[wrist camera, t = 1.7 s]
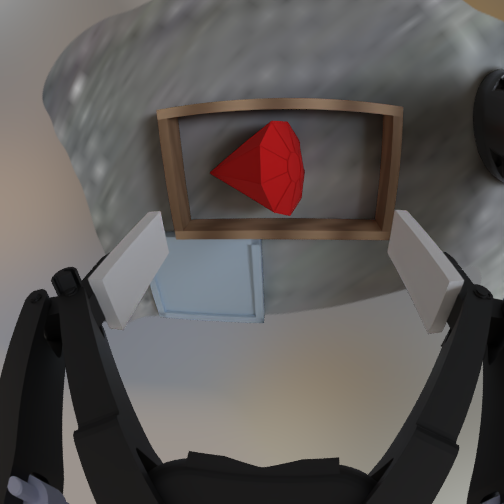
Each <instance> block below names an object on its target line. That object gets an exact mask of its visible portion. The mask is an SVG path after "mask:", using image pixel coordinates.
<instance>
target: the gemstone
mask: <svg viewBox="0 0 504 504" xmlns="http://www.w3.org/2000/svg"><path fill="white" fill-rule="evenodd" d="M281 122H283V121H271V122H270V123H268V124H267V125H266V126H264V127H263V128H262V129H261V130H259V131H258V132H257V133H256V134H254V135H253V136H252V137H251V138H250V139H248V140H247V141H246V142H245V143H244V144H242V145H241V146H240V147H239V148H238V149H236V150H235V151H234V152H233V153H232V154H231V155H229V156H228V157H227V158H226V159H225V160H224V161H222V162H221V163H220V164H219V165H218V166H217V167H216V168H214V169H213V170H212V171H211V172H210V174H211V175H213V176H215V177H217V178H218V179H220V180H222V181H223V182H225V183H227V184H228V185H230V186H232V187H233V188H235V189H237V190H238V191H240V192H242V193H243V194H245V195H246V196H248V197H250V198H251V199H253V200H255V201H256V202H258V203H259V204H261V205H263V206H264V207H266V208H267V209H269V210H271V211H272V212H274V213H278V214H283V215H288V216H290V215H291V214H292V212H293V211H294V209H295V208H296V206H297V204H298V203H299V201H300V200H301V198H302V192H301V190H303V184H302V182H304V176H303V174H304V173H305V170H304V168H303V162H302V156H301V151H300V142H299V139H298V138H297V136H296V134H295V133H294V131H293V130H292V128H291V127H290V125H289V123H288V122H285V123H281ZM290 128H291V129H290ZM292 131H293V132H292ZM294 134H295V135H294ZM295 136H296V137H295ZM297 139H298V140H297ZM299 199H300V200H299ZM297 202H298V203H297ZM295 205H296V206H295ZM294 207H295V208H294ZM293 208H294V209H293ZM292 210H293V211H292Z"/></svg>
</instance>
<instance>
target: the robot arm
mask: <svg viewBox="0 0 504 504" xmlns="http://www.w3.org/2000/svg"><path fill="white" fill-rule="evenodd" d="M473 121H474V133H475V139H476V143H477V147H478V151H479V153H480V156H481V158H482V160H483V162H484V164H485V166H486V167H487V169H488V170H489V172H490V173H491V174H492V175H493V176H494V177H496V178H497V179H498V180H500V181H502V182H503V183H504V70H497V71H494V72H492V73H490V74H489V75H488V76H487V77H486V78H485V79H484V80H483V81H482V83H481V85H480V87H479V89H478V92H477V95H476V99H475V104H474V116H473ZM387 253H388V255H389V257H390V259H391V261H392V262H393V264H394V266H395V268H396V270H397V272H398V273H399V275H400V277H401V279H402V281H403V283H404V285H405V287H406V289H407V291H408V292H409V295H410V297H411V299H412V301H413V303H414V305H415V307H416V309H417V311H418V313H419V316H420V318H421V320H422V322H423V324H424V326H425V329H426V331H427V333H428V334H432V333H439V332H442V331H443V329H444V327H445V324H446V322H447V323H448V325H449V327H450V330H449V332H448V334H447V335H446V337H445V339H444V341H443V343H442V345H441V346H442V349H441V351H440V353H439V356H438V358H437V360H436V363H435V365H434V367H433V369H432V372H431V374H430V376H429V378H428V380H427V382H426V385H425V387H424V388H423V390H422V392H421V394H420V396H419V398H418V400H417V402H416V404H415V406H414V407H413V409H412V411H411V413H410V415H409V416H408V418H407V420H406V422H405V423H404V425H403V427H402V428H401V430H400V432H399V433H398V435H397V437H396V438H395V440H394V441H393V443H392V444H391V446H390V448H389V449H388V450H387V452H386V453H385V455H384V456H383V457H382V459H381V460H380V461H379V462H378V463H377V465H376V466H375V467H374V468H373V469H372V471H371V472H370V473H369V474H368V475H367V474H366V473H364V472H362V471H360V470H357V469H354V468H352V467H348V466H344V465H339V458H324V459H303V460H298V461H294V462H290V463H285V464H280V465H275V466H270V467H257V466H254V465H250V464H247V463H244V462H241V461H238V460H234V459H231V458H228V457H225V456H219V455H212V454H204V453H198V452H192V451H189V453H188V457H187V458H186V459H179V460H174V461H170V462H166V463H164V464H163V463H162V461H161V460H160V458H159V457H158V456H157V454H156V453H155V451H154V450H153V448H152V447H151V445H150V443H149V441H148V439H147V437H146V435H145V433H144V431H143V428H142V427H141V424H140V422H139V420H138V418H137V416H136V413H135V411H134V409H133V407H132V404H131V402H130V400H129V397H128V395H127V392H126V390H125V388H124V385H123V382H122V380H121V377H120V375H119V372H118V369H117V367H116V364H115V361H114V358H113V355H112V352H111V349H110V346H109V343H108V340H107V337H106V334H105V331H104V328H103V326H102V323H103V321H104V320H105V319H106V321H107V323H108V325H109V327H110V328H112V329H118V330H124V328H125V327H126V325H127V323H128V321H129V319H130V318H131V316H132V314H133V312H134V311H135V309H136V307H137V305H138V304H139V302H140V300H141V298H142V297H143V295H144V293H145V292H146V290H147V288H148V287H149V285H150V283H151V282H152V280H153V278H154V277H155V275H156V273H157V272H158V270H159V268H160V267H161V265H162V264H163V262H164V260H165V259H166V257H167V255H168V254H169V250H168V245H167V240H166V236H165V231H164V226H163V221H162V216H161V211H153V212H148V213H147V214H146V215H145V216H144V217H143V218H142V219H141V220H140V221H139V222H138V223H137V224H136V225H135V226H134V228H133V229H132V230H131V231H130V232H129V233H128V234H127V235H126V236H125V237H124V238H123V239H122V240H121V241H120V243H119V244H118V245H117V246H116V247H115V248H114V249H113V250H112V251H111V253H108V254H107V255H105V256H104V257H102V258H101V259H100V260H99V262H98V263H97V265H95V266H94V267H93V269H92V270H91V271H90V272H89V273H88V274H87V275H86V277H85V278H84V279H83V280H82V281H81V278H80V276H79V274H78V271H77V269H76V268H74V267H68V268H64V269H62V270H60V271H58V272H57V273H56V274H55V275H54V276H53V277H52V280H51V282H52V284H53V286H54V288H55V290H56V293H57V295H58V296H57V297H51V298H49V296H48V294H47V292H46V291H45V290H43V289H40V290H37V291H33V292H32V293H31V294H30V295H29V296H28V297H27V299H26V300H25V302H24V305H23V307H22V310H21V313H20V315H19V318H18V321H17V323H16V326H15V329H14V332H13V335H12V338H11V341H10V345H9V348H8V351H7V354H6V358H5V362H4V365H3V369H2V373H1V377H0V504H69V503H67V502H66V500H65V498H64V496H63V485H64V468H63V448H62V410H63V408H62V407H63V390H64V377H65V367H66V373H67V378H68V383H69V389H70V393H71V398H72V402H73V407H74V411H75V415H76V419H77V423H78V430H76V431H74V434H73V437H74V442H75V445H76V449H77V452H78V455H79V458H80V461H81V464H82V467H83V470H84V473H85V476H86V479H87V481H88V484H89V486H90V489H91V491H92V494H93V496H94V499H95V501H96V503H97V504H432V503H433V501H434V499H435V498H436V496H437V494H438V492H439V491H440V489H441V487H442V485H443V483H444V481H445V479H446V477H447V476H448V474H449V472H450V470H451V468H452V465H453V463H454V461H455V459H456V457H457V454H458V451H459V445H457V444H456V441H457V437H458V435H459V433H460V430H461V428H462V425H463V423H464V420H465V417H466V415H467V412H468V409H469V406H470V403H471V400H472V397H473V394H474V391H475V388H476V384H477V381H478V377H479V373H480V370H481V366H482V362H483V399H482V414H481V425H480V433H479V440H478V448H477V453H476V459H475V464H474V469H473V474H472V478H471V482H470V487H469V493H468V498H467V504H504V299H503V300H499V299H494V298H493V295H492V294H491V292H490V291H489V290H488V289H487V288H485V287H483V286H481V285H477V284H473V283H472V282H471V280H470V279H469V278H468V276H467V275H466V274H465V273H464V271H463V270H462V268H461V267H460V266H459V265H458V263H457V262H456V261H455V259H454V258H453V257H452V256H450V255H449V254H447V253H446V252H442V251H441V249H440V248H439V247H438V246H437V245H436V243H435V242H434V241H433V240H432V239H431V237H430V236H429V235H428V234H427V233H426V232H425V230H424V229H423V228H422V227H421V226H420V225H419V223H418V222H417V221H416V220H415V219H414V218H413V217H412V216H411V215H410V213H409V212H408V211H407V210H395V212H394V218H393V224H392V230H391V235H390V241H389V246H388V251H387Z"/></svg>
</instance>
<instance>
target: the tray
mask: <svg viewBox="0 0 504 504" xmlns="http://www.w3.org/2000/svg"><path fill="white" fill-rule="evenodd" d="M165 236H166V240H167V245H168V250H169V254H168V255H167V257H166V259H165V260H164V262H163V264H162V265H161V267H160V268H159V270H158V272H157V273H156V275H155V277H154V278H153V280H152V282H151V283H150V288H151V291H152V294H153V297H154V300H155V303H156V306H157V309H158V312H159V315H160V317H165V318H176V319H189V320H204V321H221V322H245V323H264V316H265V315H264V289H263V264H262V241H261V239H185V240H176V235H175V231H172V232H165Z"/></svg>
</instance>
